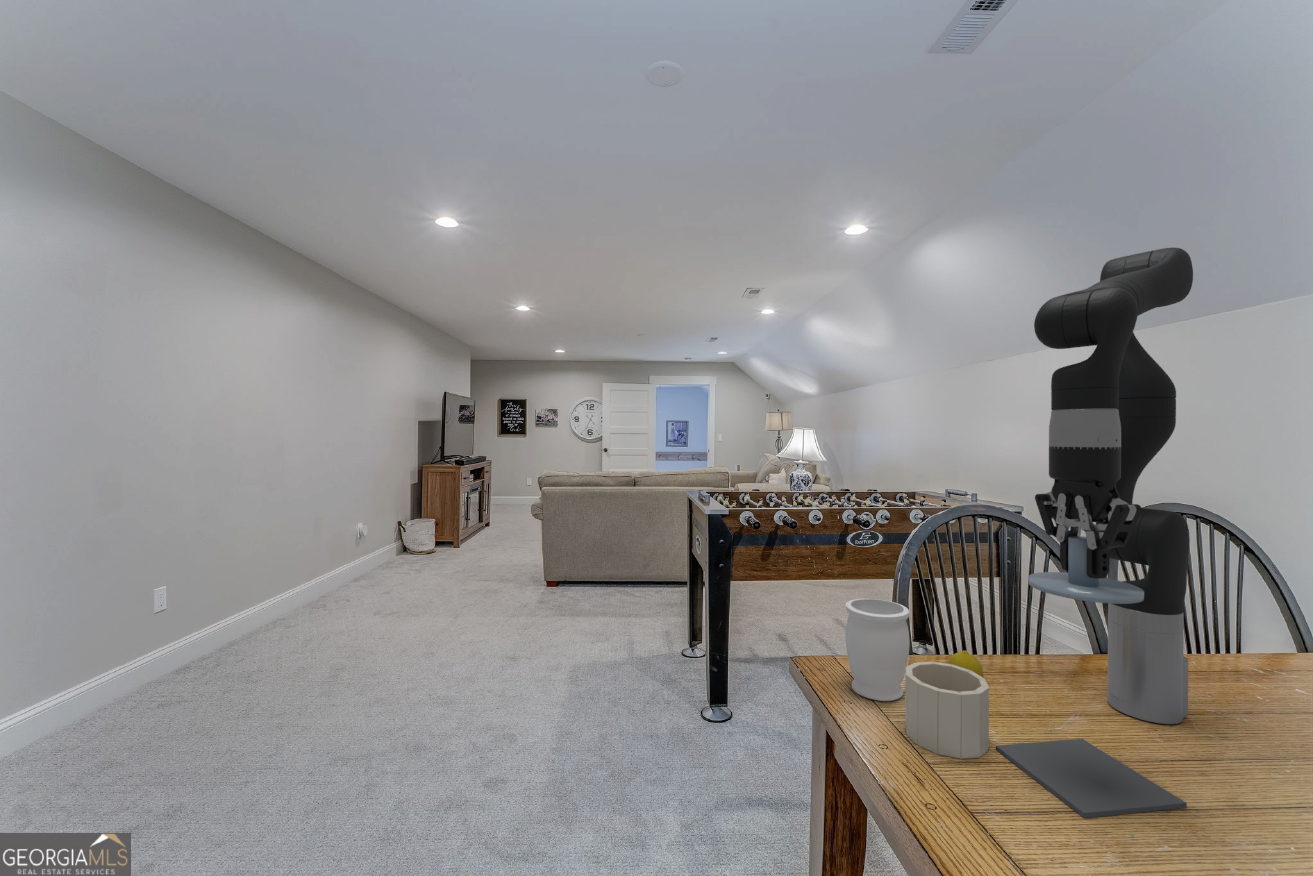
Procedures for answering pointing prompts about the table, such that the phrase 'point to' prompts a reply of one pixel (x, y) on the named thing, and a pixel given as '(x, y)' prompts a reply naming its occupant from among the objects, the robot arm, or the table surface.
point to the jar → (877, 647)
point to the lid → (1084, 580)
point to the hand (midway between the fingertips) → (1083, 573)
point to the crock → (947, 709)
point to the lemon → (967, 662)
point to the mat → (1089, 778)
